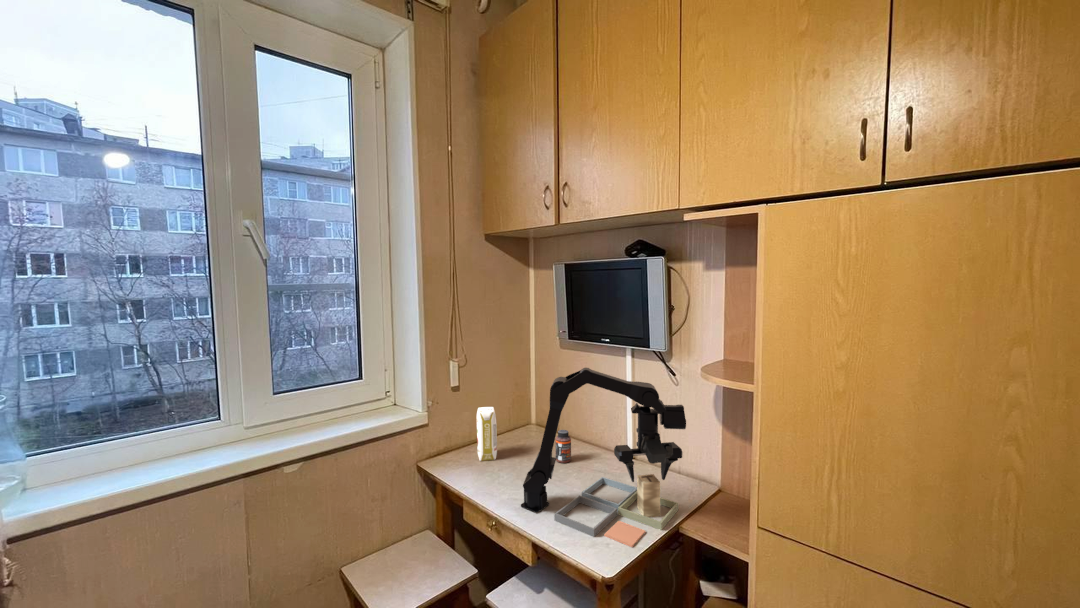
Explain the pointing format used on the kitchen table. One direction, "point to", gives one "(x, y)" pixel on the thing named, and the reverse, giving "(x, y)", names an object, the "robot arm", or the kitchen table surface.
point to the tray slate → (611, 483)
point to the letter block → (648, 495)
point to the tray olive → (647, 520)
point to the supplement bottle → (563, 447)
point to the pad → (624, 533)
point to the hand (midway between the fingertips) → (648, 480)
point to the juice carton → (486, 433)
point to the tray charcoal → (579, 526)
